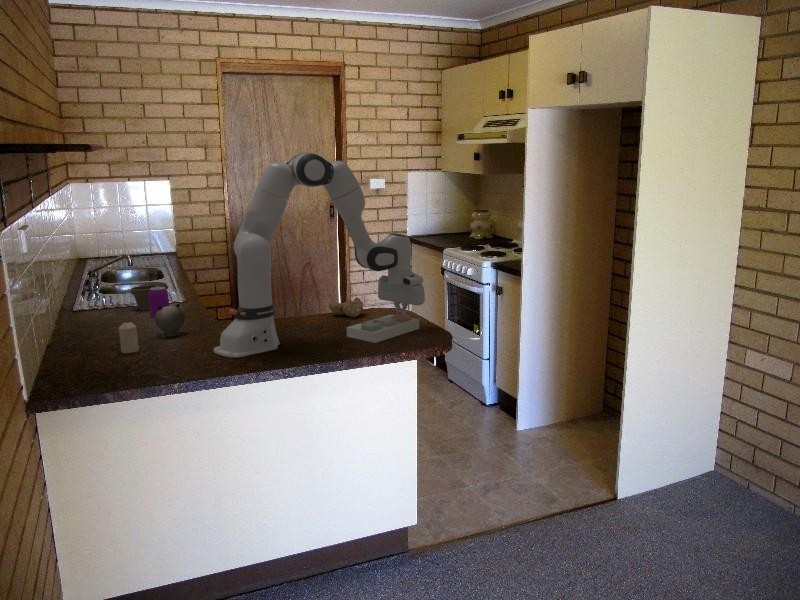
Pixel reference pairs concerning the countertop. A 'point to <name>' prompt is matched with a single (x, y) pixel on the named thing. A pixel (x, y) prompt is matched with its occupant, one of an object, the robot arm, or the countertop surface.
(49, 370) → the countertop surface
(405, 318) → the terracotta key
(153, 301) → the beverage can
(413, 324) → the keypad
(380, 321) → the grey key
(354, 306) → the ginger root
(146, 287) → the flower pot
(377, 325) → the sage key
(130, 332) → the candle
